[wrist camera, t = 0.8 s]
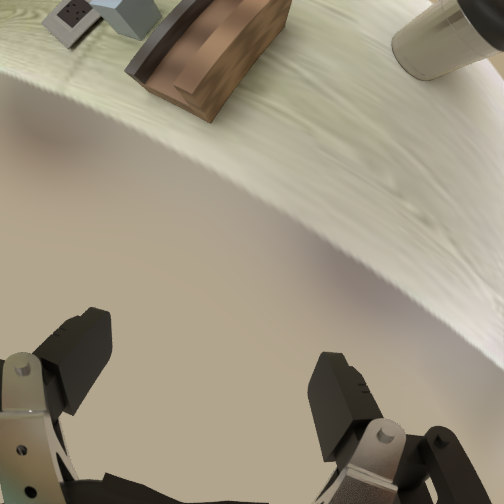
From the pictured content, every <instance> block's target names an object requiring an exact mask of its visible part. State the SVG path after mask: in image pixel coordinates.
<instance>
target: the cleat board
mask: <svg viewBox="0 0 504 504" xmlns="http://www.w3.org/2000/svg"><path fill="white" fill-rule="evenodd" d="M291 3H292V0H182V1H181V2H180V3H179V4H178V5H177V6H176V7H175V8H174V9H173V10H172V11H171V13H170V14H169V15H168V16H167V17H166V18H165V19H164V20H163V21H162V23H161V24H160V25H159V26H158V27H157V28H156V30H155V31H154V32H153V33H152V34H151V36H150V37H149V38H148V39H147V41H146V42H145V43H144V44H143V46H142V47H141V48H140V50H139V51H138V52H137V54H136V55H135V56H134V58H133V59H132V60H131V62H130V63H129V64H128V66H127V67H126V69H125V70H124V71H125V72H126V73H127V74H128V75H129V76H131V77H132V78H133V79H134V80H135V81H137V82H138V83H139V84H140V85H141V86H142V87H144V88H145V89H146V90H147V91H148V92H150V93H153V94H155V95H157V96H159V97H161V98H163V99H165V100H167V101H169V102H171V103H173V104H175V105H177V106H179V107H181V108H183V109H185V110H186V111H188V112H190V113H192V114H194V115H196V116H198V117H200V118H201V119H203V120H205V121H207V122H209V123H211V122H212V121H213V119H214V118H215V116H216V115H217V113H218V112H219V110H220V109H221V108H222V106H223V105H224V103H225V102H226V100H227V99H228V98H229V96H230V95H231V93H232V92H233V91H234V89H235V88H236V87H237V85H238V84H239V82H240V81H241V80H242V78H243V77H244V76H245V75H246V73H247V72H248V71H249V69H250V68H251V67H252V65H253V64H254V63H255V62H256V60H257V59H258V58H259V57H260V55H261V54H262V53H263V52H264V50H265V49H266V48H267V47H268V46H269V44H270V43H271V42H272V41H273V40H274V38H275V37H276V36H277V35H278V34H279V33H280V31H281V30H282V29H283V28H284V27H285V23H286V20H287V16H288V13H289V9H290V6H291Z"/></svg>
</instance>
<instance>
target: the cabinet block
mask: <svg viewBox="0 0 504 504" xmlns="http://www.w3.org/2000/svg"><path fill="white" fill-rule="evenodd" d="M89 4H90V5H91V6H92V7H93V8H94V9H95V10H96V11H97V12H98V13H99V14H100V15H101V16H102V17H103V18H104V19H105V20H106V21H107V22H108V23H109V24H110V26H111V27H112V28H113V29H114V30H115V31H116V32H117V33H119V34H122V35H125V36H129V37H132V38H135V39H138V40H140V41H142V39H143V38H144V37H145V36H146V34H147V33H148V32H149V31H150V29H151V28H152V27H153V26H154V25H155V24H156V22H157V21H158V20H159V19H160V18H161V17H162V15H161V14H160V12H159V10H158V8H157V6H156V4H155V3H154V1H153V0H92V1H91V2H90V3H89Z"/></svg>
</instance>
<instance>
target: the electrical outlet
mask: <svg viewBox="0 0 504 504" xmlns="http://www.w3.org/2000/svg"><path fill="white" fill-rule="evenodd" d="M91 1H92V0H63V1H62V2H60V3H59V4H58V5H57V6H56V7H55V9H54V10H53V11H52V12H51V13H50V14H49V15H48V16H47V17H46V18H45V19H44V20H43V21H42V22H41V24H42V25H43V26H44V27H46V28H47V29H48V30H49V31H50V32H51V33H52V34H53V35H54V36H55V37H56V38H57V39H58V40H59V41H60V42H61V43H62V44H63V45H64V46H65V47H66V48H67V49H69V48H71V46H72V45H73V44H74V43H75V42H76V41H77V40H78V39H79V38H80V37H81V36H82V35H83V34H84V33H85V32H86V31H87V30H88V29H89V28H90V27H91V26H92V25H93V24H94V23H95V22H96V21H97V20H98V19H99V18H101V17H102V16H101V15H100V14H99V13H98V12H97V11H96V10H95V9H94V8H93V7H92V6H91V5H90V4H89V3H90V2H91Z"/></svg>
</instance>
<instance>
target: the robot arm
mask: <svg viewBox="0 0 504 504" xmlns="http://www.w3.org/2000/svg"><path fill="white" fill-rule="evenodd" d="M392 48H393V52H394V54H395V57H396V58H397V60H398V62H399V63H400V64H401V66H402V67H403V68H404V69H405V70H406V71H407V72H408V73H410V74H411V75H412V76H414V77H416V78H418V79H421V80H426V81H428V80H432V79H434V78H437V77H439V76H441V75H444V74H447V73H449V72H451V71H454V70H456V69H459V68H461V67H464V66H466V65H469V64H472V63H474V62H477V61H480V60H482V59H485V58H488V57H490V56H493V55H496V54H499V53H502V52H504V0H438V1H437V2H436V3H434V4H433V5H432V6H430V7H429V8H428V9H426V10H425V11H424V12H422V13H421V14H420V15H419V16H417V17H416V18H415V19H414V20H412V21H411V22H410V23H409V24H407V25H406V26H405V27H404V28H402V29H401V30H400V31H399V32H398V33H396V34H395V35H394V37H393V40H392ZM111 353H112V332H111V315H110V313H109V312H108V311H104V310H101V309H98V308H94V307H90V308H89V309H88V310H87V311H85V313H83V314H82V315H81V316H75V317H73V318H70V319H68V320H66V321H65V322H64V323H63V324H62V325H61V326H60V327H59V329H57V330H56V331H54V332H53V334H52V335H50V336H49V337H48V338H47V339H46V340H45V341H44V342H43V343H42V344H41V345H40V346H39V347H38V348H37V349H36V350H35V351H34V352H33V353H32V354H31V353H26V352H20V353H15V354H13V355H11V356H10V357H8V358H7V359H6V361H5V360H1V359H0V484H1V490H2V494H3V499H4V503H2V504H269V503H254V502H253V503H252V502H238V501H219V502H205V503H183V502H180V501H177V500H175V499H173V498H170V497H168V496H165V495H164V494H161V493H159V492H157V491H155V490H153V489H151V488H149V487H147V486H145V485H143V484H139V483H136V482H132V481H129V480H126V479H123V478H119V477H117V476H114V475H111V474H109V473H105V475H104V478H103V480H91V479H86V480H79V478H78V476H77V474H76V471H75V469H74V467H73V465H72V462H71V459H70V456H69V452H68V449H67V446H66V442H65V438H64V434H63V430H62V426H61V421H60V418H59V416H60V415H61V413H62V411H63V412H66V413H68V414H70V415H72V416H74V414H75V413H76V411H77V409H78V408H79V406H80V404H81V403H82V401H83V400H84V398H85V396H86V395H87V393H88V392H89V390H90V388H91V387H92V385H93V384H94V382H95V381H96V379H97V377H98V376H99V374H100V373H101V371H102V370H103V368H104V367H105V365H106V364H107V362H108V361H109V359H110V356H111ZM308 399H309V403H310V407H311V411H312V415H313V419H314V423H315V427H316V431H317V435H318V439H319V443H320V447H321V451H322V456H323V460H324V462H334V461H336V464H337V467H336V469H335V470H334V471H333V473H332V474H331V476H330V477H329V479H328V481H327V482H326V484H325V485H324V487H323V488H322V489H321V491H320V492H319V494H318V496H317V497H316V498H315V499H314V501H313V502H312V504H433V502H432V499H431V496H430V493H429V491H428V488H427V486H426V483H425V481H426V480H427V479H428V478H429V477H431V480H432V482H433V485H434V487H435V489H436V492H437V495H438V500H437V503H436V504H492V503H491V501H490V499H489V497H488V495H487V493H486V490H485V488H484V487H483V484H482V483H481V480H480V479H479V477H478V475H477V473H476V471H475V469H474V467H473V465H472V464H471V462H470V460H469V458H468V456H467V455H466V453H465V451H464V449H463V447H462V446H461V444H460V442H459V440H458V439H457V437H456V435H455V434H454V433H453V432H452V431H451V430H449V429H448V428H446V427H442V426H434V427H431V428H430V429H429V430H428V431H427V433H426V434H425V435H424V436H417V435H408V434H405V431H404V429H403V428H402V427H401V426H400V425H399V424H398V423H396V422H394V421H392V420H390V419H385V418H384V417H383V415H382V413H381V411H380V409H379V408H378V405H377V403H376V401H375V400H374V398H373V396H372V394H371V393H370V390H369V388H368V386H366V382H365V380H364V378H363V377H362V375H361V374H360V373H359V372H358V371H357V370H356V369H355V368H354V367H353V366H349V365H348V363H347V361H346V359H345V357H344V355H343V354H342V353H333V352H322V353H321V355H320V357H319V359H318V362H317V364H316V367H315V369H314V372H313V374H312V377H311V379H310V382H309V385H308Z"/></svg>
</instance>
